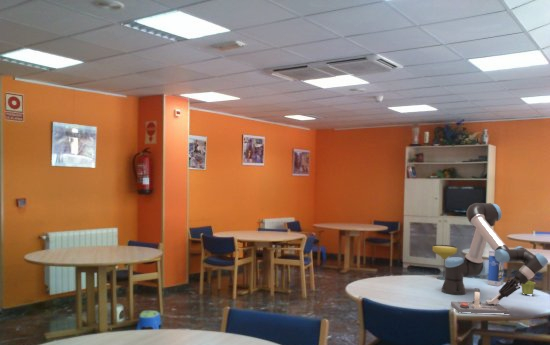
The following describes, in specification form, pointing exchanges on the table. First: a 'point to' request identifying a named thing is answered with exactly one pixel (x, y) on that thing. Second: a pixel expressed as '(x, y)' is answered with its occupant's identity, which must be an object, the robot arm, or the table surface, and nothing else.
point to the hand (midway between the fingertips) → (493, 302)
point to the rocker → (489, 301)
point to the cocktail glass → (444, 254)
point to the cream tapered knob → (477, 300)
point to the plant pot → (528, 287)
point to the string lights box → (495, 270)
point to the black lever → (474, 294)
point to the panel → (485, 308)
